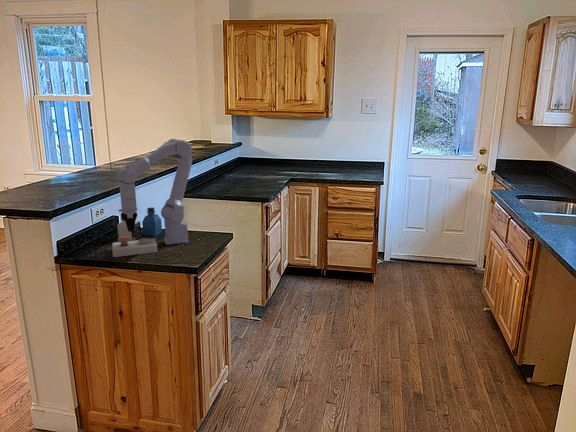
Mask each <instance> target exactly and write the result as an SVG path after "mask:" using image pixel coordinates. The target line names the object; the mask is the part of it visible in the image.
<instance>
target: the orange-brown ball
mask: <svg viewBox="0 0 576 432" xmlns="http://www.w3.org/2000/svg"><path fill="white" fill-rule="evenodd" d="M127 241H131V240H130V237H129V236H120V237H119V236H118V237H117V242H121V247H122V246H128V245H127Z"/></svg>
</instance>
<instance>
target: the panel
mask: <svg viewBox="0 0 576 432" xmlns="http://www.w3.org/2000/svg"><path fill="white" fill-rule="evenodd" d="M150 241H151V242H150V243H148V244H139V239H137V240H136V239H134V240H129V241H127V245H128V246H122V247H121V242H118V241H117V242H116V241H115V242H112V248H111V249H112V257H113V258H118V257H126V256H136V254H137V255H145V254H155V253H158V244H157V239H156V238H155V237H154V238H150Z"/></svg>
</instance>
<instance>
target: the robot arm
mask: <svg viewBox="0 0 576 432" xmlns="http://www.w3.org/2000/svg"><path fill="white" fill-rule="evenodd" d="M192 149H193V147H192V146H191V144H190V143H189V141H187V140H183V139H181V140H180V139H175V138H171V139H169V140H168V141H165V142H164V143H163V144H162V145H161V146H160V147H158V148H156V149H155V150H154V151H153V152H151V153H150V154H148V155H147V156H146V157H144V156H140V157H139V156H138V157H136V158H135V160H134V161H133V162H131V163H130V164H126V165H125V167H122V168H119V169H118V171H117V173H116V175H115V178H116V179H117V181H118V182H119V195H120V204H121V205H120V207H121V208H120V209H118V213H122V212H123V213H125V214H122V216H123V218H124V220H125V222H126V225H127V229H128V231H129V232H133V231H134V228H135V221H137V218H138V208H137V207H138V206H137V205H138V204H137V195H136V185H135V182H136V181H137V178H138V177H140V176H141V175H143V174H144V173H145V172H147V171H148V170H149V171H150V169H151V166H152V164H154V163H156V162H157V161H160V159H161V160H162V158H164V157H166V156H168V155H169V156H171V155H172V156H173V157H174V158H175V160H176V161H177V163H178V164H177V168H176V171H175V176H174V179H173V183H172V188H171V191H170V195H169V198H168V199H167V200H165V203H164V206H163V207H162V208H161V210H160V215H161V217H162V218H163V220H164V235H165V238H164V239H163V240H164V243H165V245H167V246H168V245H177V244H184V243H186V244H187V243H189V233H188V224H187V221H186V220H184V218H185V212H184V211H185V205H184V203H183V199H184V195H185V192H186V189H187V188H186V187H187V184H188V181H189V176H190V173H191V168H192V165H193V157H192Z"/></svg>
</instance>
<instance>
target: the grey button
mask: <svg viewBox="0 0 576 432" xmlns="http://www.w3.org/2000/svg"><path fill="white" fill-rule="evenodd" d="M150 239H151V238H149V237H143V238H139V239H138V240H139V244H148V243H150V242H151V241H150Z"/></svg>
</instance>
